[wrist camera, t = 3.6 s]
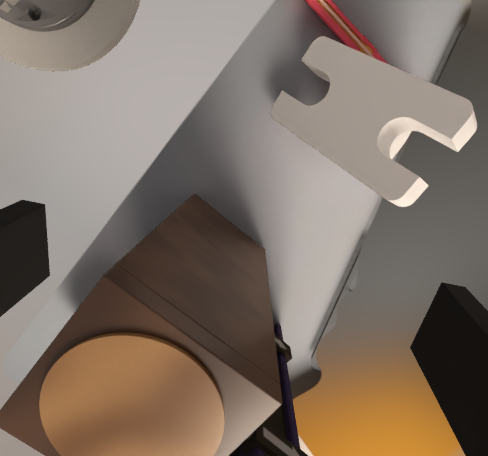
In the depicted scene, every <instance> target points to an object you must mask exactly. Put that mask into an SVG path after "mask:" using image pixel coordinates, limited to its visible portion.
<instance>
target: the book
mask: <svg viewBox="0 0 488 456" xmlns="http://www.w3.org/2000/svg"><path fill="white" fill-rule="evenodd" d="M274 334H275V343H276V352H277V360H278V369H279V377H280V387H281V396H282V405H281V406H280V407H279V408H278V409H277V410H276V411H275V412H274V413H272V414H271V415H270V416H269V417H268V418H267V419H266V420H265V421H264V422H263V423H262V424H261V425H260V426H259V427H258V428H257V429H256V430H255V431H254V432H253V433H252V434H251V435H250V436H249V437H248V438H247V439H246V440H245V441H244V442H243V443H241V444H240V445H239V446H238V447H237V448H236V449H235V450H234V451H233V452H232V453H231V454H230V455H229V456H308V455H307V454H305V453H304V452H303V451H302V450H300V445H299V438H298V432H297V426H296V419H295V413H294V407H293V400H292V394H291V388H290V381H289V375H288V369H287V362H288V361H289V360H291V359H292V355H291V350H290V347H289V346H288V345H287V344H286V343H285V342H284V341H283V337H282V331H281V326H280V325H279V324H276V325H275V326H274Z"/></svg>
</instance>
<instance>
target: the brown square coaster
mask: <svg viewBox="0 0 488 456" xmlns="http://www.w3.org/2000/svg"><path fill="white" fill-rule="evenodd" d="M281 405H282V396H281V387H280V384H279V383H278V382H276V381H275V380H273V379H272V378H271V377H269V376H268V375H267V374H265V373H264V372H263V371H261V370H260V369H258V368H257V367H256V366H254V365H253V364H252V363H250V362H249V361H247V360H246V359H245V358H243V357H242V356H241V355H239V354H238V353H237V352H235V351H234V350H232V349H231V348H230V347H228V346H227V345H226V344H224V343H223V342H221V341H220V340H219V339H217V338H216V337H215V336H213V335H212V334H211V333H209V332H208V331H206V330H205V329H204V328H202V327H201V326H200V325H198V324H197V323H195V322H194V321H193V320H191V319H190V318H189V317H187V316H186V315H185V314H183V313H182V312H180V311H179V310H178V309H176V308H175V307H174V306H172V305H171V304H169V303H168V302H167V301H165V300H164V299H163V298H161V297H160V296H159V295H157V294H156V293H154V292H153V291H152V290H150V289H149V288H148V287H146V286H145V285H144V284H142V283H141V282H139V281H138V280H137V279H135V278H134V277H133V276H131V275H130V274H128V273H127V272H126V271H124V270H123V269H122V268H120V267H119V266H118V265H114V266H113V267H112V268H111V269H110V270H109V271H107V272H106V273H105V274H104V275H103V276H102V278H101V279H100V280H99V281H98V283H97V284H96V285H95V287H94V288H93V289H92V291H91V292H90V293H89V295H88V296H87V297H86V298H85V300H84V301H83V302H82V304H81V305H80V306H79V308H78V309H77V310H76V312H75V313H74V314H73V315H72V317H71V318H70V319H69V321H68V322H67V323H66V325H65V326H64V327H63V329H62V330H61V331H60V332H59V334H58V335H57V336H56V338H55V339H54V340H53V342H52V343H51V344H50V346H49V347H48V348H47V349H46V351H45V352H44V353H43V355H42V356H41V357H40V359H39V360H38V361H37V363H36V364H35V365H34V366H33V368H32V369H31V370H30V372H29V373H28V374H27V376H26V377H25V378H24V380H23V381H22V382H21V383H20V385H19V386H18V387H17V389H16V390H15V391H14V393H13V394H12V395H11V397H10V398H9V399H8V400H7V402H6V403H5V404H4V406H3V407H2V408H1V410H0V428H1V429H2V430H4V431H6V432H7V433H9V434H11V435H12V436H14V437H16V438H17V439H19V440H20V441H22V442H24V443H25V444H27V445H29V446H30V447H32V448H33V449H35V450H37V451H38V452H40V453H42V454H43V455H45V456H229V455H230V454H231V453H232V452H233V451H234V450H235V449H236V448H237V447H238V446H239V445H240V444H241V443H243V442H244V441H245V440H246V439H247V438H248V437H249V436H250V435H251V434H252V433H253V432H254V431H255V430H256V429H257V428H258V427H259V426H260V425H261V424H262V423H263V422H264V421H265V420H266V419H267V418H268V417H269V416H270V415H271V414H272V413H274V412H275V411H276V410H277V409H278V408H279V407H280V406H281Z"/></svg>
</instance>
